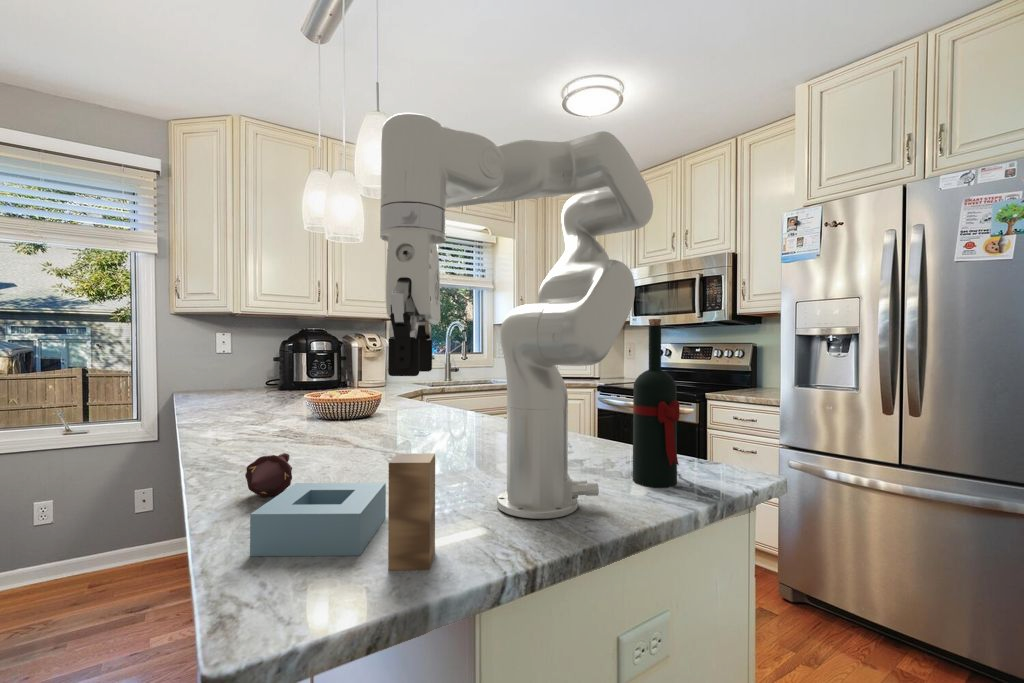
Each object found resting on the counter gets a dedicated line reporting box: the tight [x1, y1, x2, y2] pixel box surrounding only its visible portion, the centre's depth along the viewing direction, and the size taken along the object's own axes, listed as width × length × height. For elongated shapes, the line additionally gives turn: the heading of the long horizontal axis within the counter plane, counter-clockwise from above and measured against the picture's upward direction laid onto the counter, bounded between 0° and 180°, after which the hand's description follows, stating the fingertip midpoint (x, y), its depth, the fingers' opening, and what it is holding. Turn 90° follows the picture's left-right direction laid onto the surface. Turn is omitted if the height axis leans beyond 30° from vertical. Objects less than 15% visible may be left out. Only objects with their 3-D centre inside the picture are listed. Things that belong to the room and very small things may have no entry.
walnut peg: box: [387, 453, 436, 571], centre depth 57 cm, size 5×5×12 cm
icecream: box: [244, 452, 293, 498], centre depth 82 cm, size 7×7×15 cm
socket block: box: [249, 482, 387, 557], centre depth 65 cm, size 13×13×5 cm
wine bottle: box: [632, 318, 680, 489], centre depth 89 cm, size 8×10×30 cm
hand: (412, 373), depth 57 cm, fingers open, 9 cm apart
